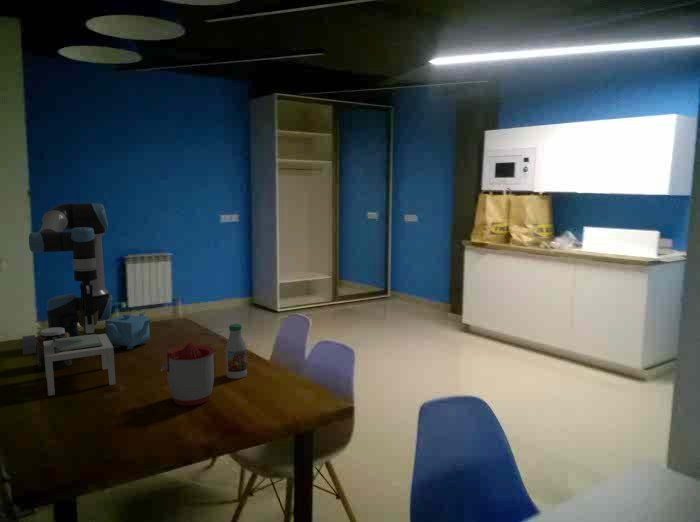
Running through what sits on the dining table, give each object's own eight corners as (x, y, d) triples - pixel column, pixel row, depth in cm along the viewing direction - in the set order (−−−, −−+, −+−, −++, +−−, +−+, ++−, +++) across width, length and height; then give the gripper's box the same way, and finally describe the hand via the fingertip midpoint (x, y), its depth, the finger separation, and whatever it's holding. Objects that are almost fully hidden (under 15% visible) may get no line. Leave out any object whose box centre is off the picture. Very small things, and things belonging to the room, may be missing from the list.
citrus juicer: (161, 395, 186) (159, 339, 184) (212, 389, 193) (211, 335, 190) (163, 413, 172) (160, 352, 169) (218, 405, 178) (216, 347, 175)
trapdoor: (23, 355, 184) (22, 346, 183) (23, 345, 196) (22, 336, 195) (100, 345, 196) (100, 336, 196) (96, 336, 208) (95, 327, 208)
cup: (103, 328, 204) (102, 307, 202) (92, 333, 196) (91, 312, 195) (85, 327, 204) (83, 307, 203) (73, 333, 197) (71, 311, 196)
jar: (46, 372, 209) (43, 335, 207) (33, 366, 216) (30, 330, 214) (77, 364, 219) (74, 329, 217) (63, 359, 226) (61, 324, 224)
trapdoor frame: (45, 377, 204) (42, 337, 202) (107, 367, 215) (105, 329, 213) (48, 395, 186) (45, 352, 184) (115, 384, 197) (113, 343, 195)
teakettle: (105, 343, 249) (103, 312, 247) (148, 337, 258) (146, 307, 256) (109, 354, 233) (106, 321, 231) (154, 348, 242) (152, 316, 239)
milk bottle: (222, 377, 205) (220, 326, 202) (235, 371, 211) (234, 321, 209) (238, 380, 201) (236, 328, 198) (251, 374, 208) (249, 324, 205)
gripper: (71, 267, 204) (75, 325, 207) (76, 273, 187) (80, 338, 190) (93, 265, 208) (96, 323, 211) (99, 272, 191) (103, 335, 194)
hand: (88, 330), depth 200 cm, fingers closed on cup, 7 cm apart
